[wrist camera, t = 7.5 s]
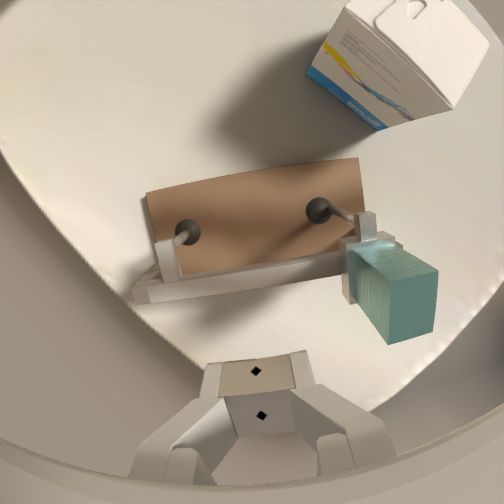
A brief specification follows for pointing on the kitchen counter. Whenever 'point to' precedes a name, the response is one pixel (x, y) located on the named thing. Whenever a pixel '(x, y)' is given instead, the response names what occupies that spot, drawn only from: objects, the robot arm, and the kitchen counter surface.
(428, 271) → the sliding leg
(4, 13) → the kitchen counter surface
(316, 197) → the board
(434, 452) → the robot arm
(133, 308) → the kitchen counter surface
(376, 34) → the ink box
